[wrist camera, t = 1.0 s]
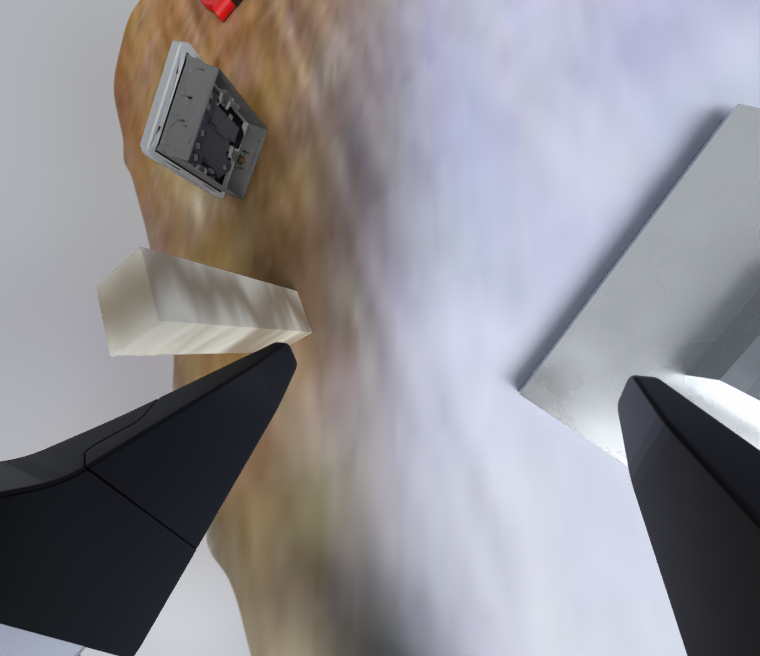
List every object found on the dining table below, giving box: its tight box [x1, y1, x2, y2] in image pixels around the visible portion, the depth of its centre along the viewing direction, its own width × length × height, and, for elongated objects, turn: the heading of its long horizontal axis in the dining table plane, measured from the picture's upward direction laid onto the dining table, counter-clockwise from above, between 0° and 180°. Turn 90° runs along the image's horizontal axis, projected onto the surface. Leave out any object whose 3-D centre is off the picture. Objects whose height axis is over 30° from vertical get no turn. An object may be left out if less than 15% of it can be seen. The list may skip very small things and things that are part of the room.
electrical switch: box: [140, 41, 267, 199], centre depth 26 cm, size 9×5×9 cm, turn 156°
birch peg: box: [96, 247, 312, 356], centre depth 21 cm, size 4×4×13 cm
